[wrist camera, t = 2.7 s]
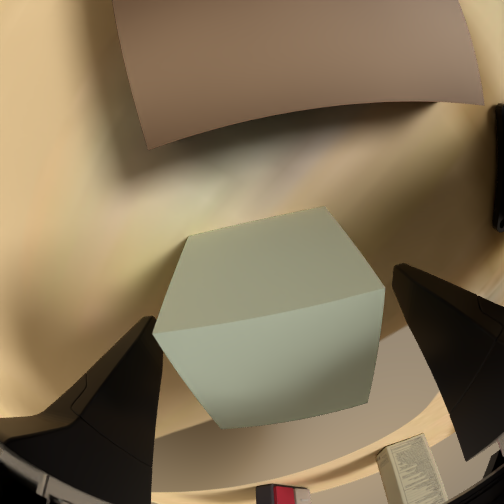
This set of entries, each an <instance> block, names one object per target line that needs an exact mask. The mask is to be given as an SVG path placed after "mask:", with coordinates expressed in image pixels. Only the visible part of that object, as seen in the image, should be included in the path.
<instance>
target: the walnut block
mask: <svg viewBox="0 0 504 504" xmlns="http://www.w3.org/2000/svg"><path fill="white" fill-rule="evenodd" d="M112 3H113V9H114V15H115V20H116V25H117V31H118V36H119V40H120V45H121V50H122V54H123V59H124V63H125V67H126V71H127V76H128V80H129V84H130V87H131V91H132V95H133V99H134V103H135V106H136V110H137V114H138V117H139V121H140V124H141V128H142V131H143V134H144V138H145V141H146V144H147V147H148V150H151V149H154V148H156V147H159V146H162V145H165V144H168V143H171V142H174V141H177V140H180V139H183V138H186V137H189V136H193V135H196V134H199V133H203V132H206V131H210V130H214V129H217V128H221V127H225V126H229V125H233V124H237V123H241V122H245V121H249V120H254V119H258V118H263V117H268V116H273V115H278V114H284V113H289V112H295V111H301V110H308V109H315V108H322V107H330V106H339V105H349V104H360V103H375V102H400V101H428V102H451V103H465V104H475V105H484V98H483V91H482V85H481V79H480V74H479V69H478V64H477V59H476V55H475V51H474V47H473V43H472V40H471V36H470V33H469V30H468V27H467V23H466V20H465V18H464V15H463V12H462V9H461V7H460V4H459V1H458V0H112Z"/></svg>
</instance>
